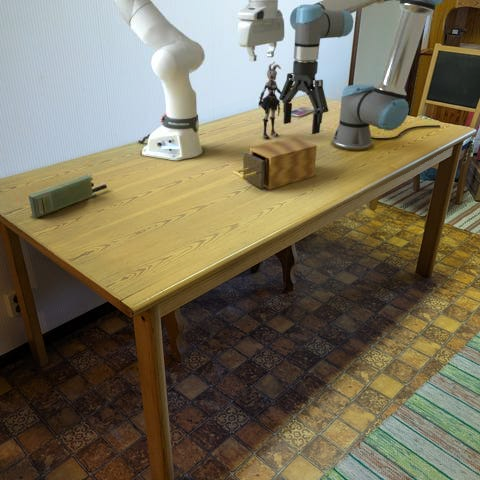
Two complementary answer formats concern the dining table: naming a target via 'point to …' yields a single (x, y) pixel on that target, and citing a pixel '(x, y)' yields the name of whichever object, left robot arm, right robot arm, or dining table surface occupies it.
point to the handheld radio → (62, 195)
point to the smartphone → (302, 111)
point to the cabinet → (288, 160)
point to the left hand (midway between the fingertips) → (261, 59)
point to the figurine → (270, 99)
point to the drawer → (254, 169)
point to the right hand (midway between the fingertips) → (300, 128)
